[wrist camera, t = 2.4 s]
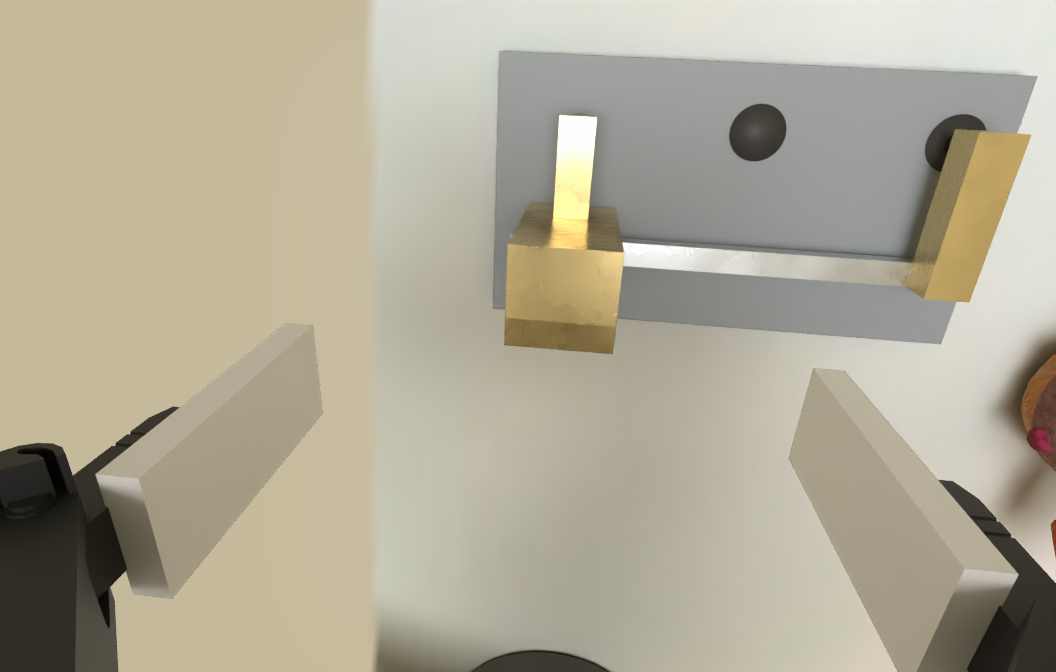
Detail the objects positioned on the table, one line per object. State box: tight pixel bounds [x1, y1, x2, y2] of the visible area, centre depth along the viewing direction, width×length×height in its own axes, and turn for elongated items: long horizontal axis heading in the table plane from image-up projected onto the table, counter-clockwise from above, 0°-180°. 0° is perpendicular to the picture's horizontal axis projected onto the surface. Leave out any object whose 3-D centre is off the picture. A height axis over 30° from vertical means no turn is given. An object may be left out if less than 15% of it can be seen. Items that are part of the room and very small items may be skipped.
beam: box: [510, 129, 1031, 302], centre depth 28 cm, size 22×7×3 cm, turn 87°
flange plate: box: [493, 51, 1038, 344], centre depth 30 cm, size 24×13×1 cm, turn 87°
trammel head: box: [504, 114, 625, 354], centre depth 26 cm, size 4×9×8 cm, turn 177°
